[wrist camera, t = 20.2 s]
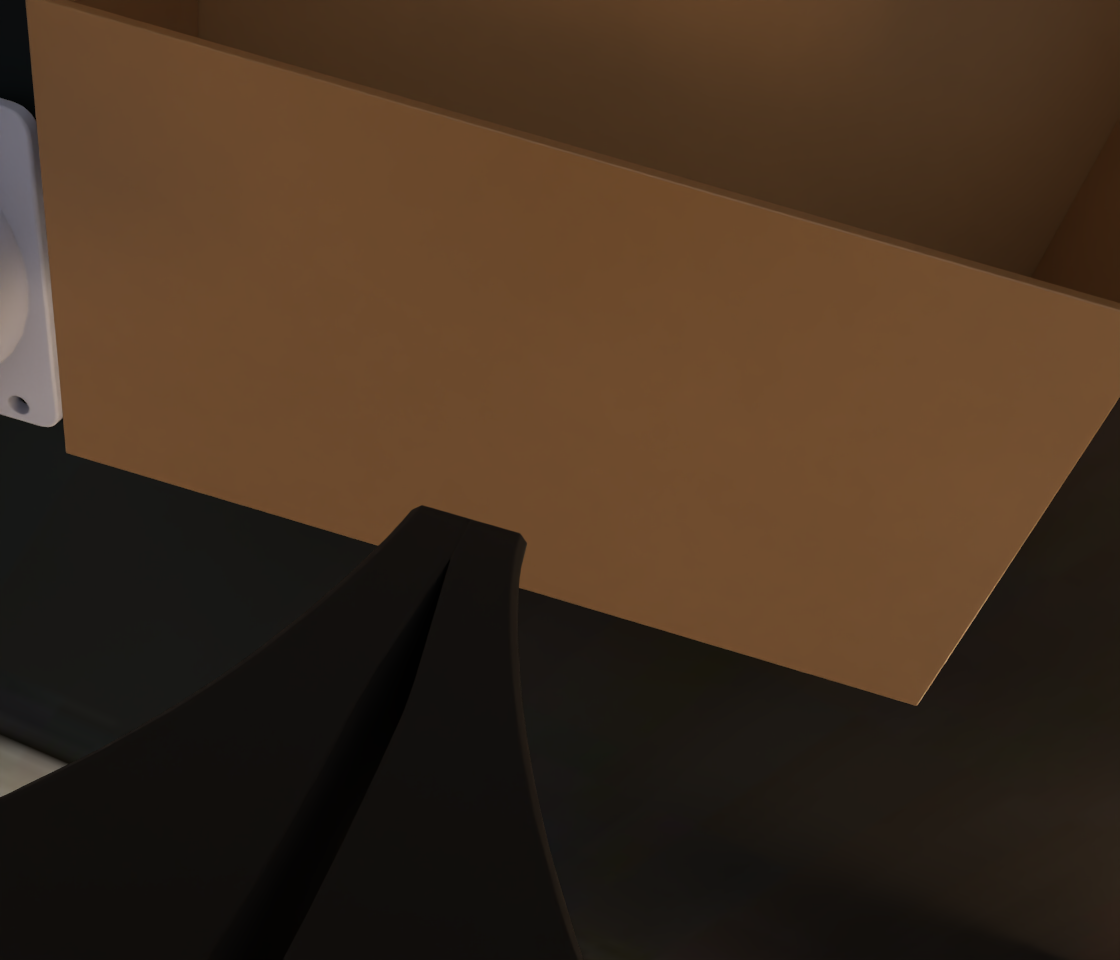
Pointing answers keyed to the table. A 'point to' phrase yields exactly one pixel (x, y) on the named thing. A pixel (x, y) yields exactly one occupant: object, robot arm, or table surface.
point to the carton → (768, 101)
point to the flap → (547, 353)
